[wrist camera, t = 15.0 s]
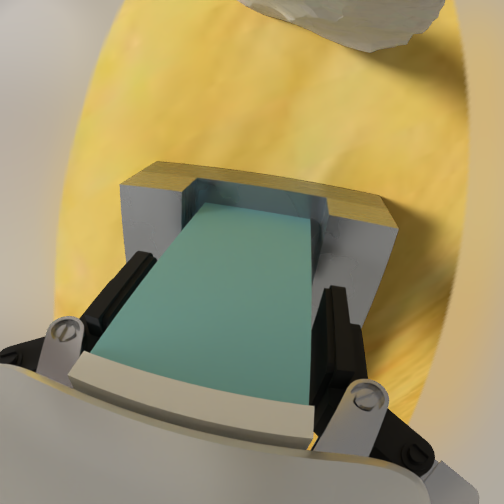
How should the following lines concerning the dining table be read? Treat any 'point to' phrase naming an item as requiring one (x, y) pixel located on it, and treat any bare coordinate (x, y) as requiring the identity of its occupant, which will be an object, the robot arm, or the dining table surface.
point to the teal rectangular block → (217, 332)
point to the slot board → (275, 201)
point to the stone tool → (355, 19)
